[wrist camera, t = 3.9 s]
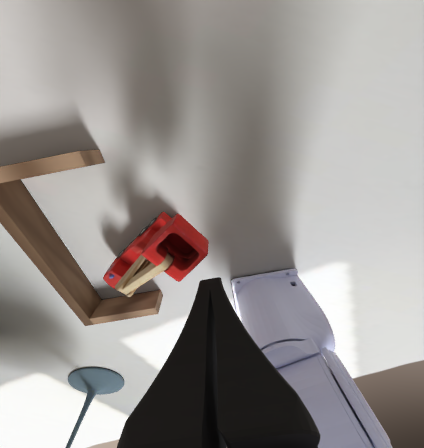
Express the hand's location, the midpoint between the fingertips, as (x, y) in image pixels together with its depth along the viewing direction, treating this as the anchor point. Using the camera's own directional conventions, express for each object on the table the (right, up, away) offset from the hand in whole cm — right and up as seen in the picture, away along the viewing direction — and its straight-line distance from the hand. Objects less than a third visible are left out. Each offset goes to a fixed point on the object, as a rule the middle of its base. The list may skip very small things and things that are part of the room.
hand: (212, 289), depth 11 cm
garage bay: (-14, +2, +10) cm, 17 cm away
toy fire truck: (-7, +3, +10) cm, 12 cm away
